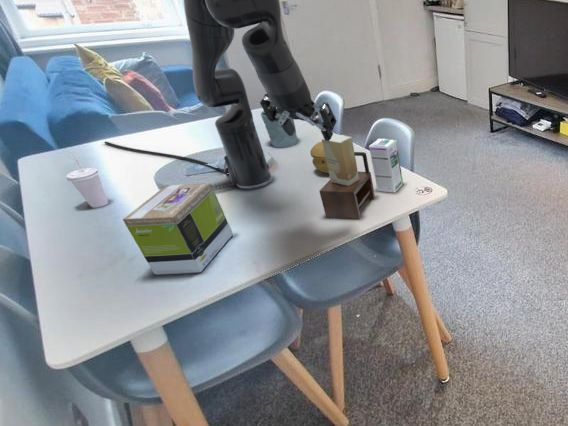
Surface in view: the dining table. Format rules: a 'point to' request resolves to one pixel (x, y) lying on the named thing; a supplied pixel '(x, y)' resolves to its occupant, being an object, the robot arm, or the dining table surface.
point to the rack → (348, 195)
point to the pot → (319, 157)
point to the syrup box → (386, 165)
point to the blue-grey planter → (279, 132)
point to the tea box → (179, 228)
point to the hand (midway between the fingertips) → (310, 135)
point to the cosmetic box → (341, 159)
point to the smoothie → (88, 185)
